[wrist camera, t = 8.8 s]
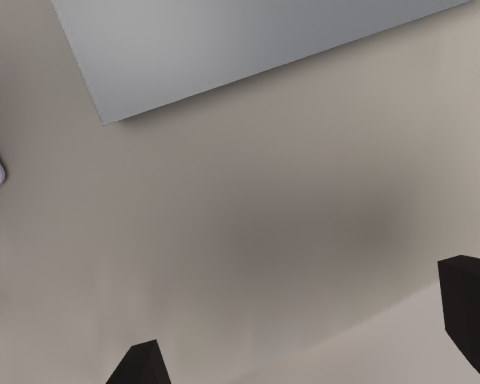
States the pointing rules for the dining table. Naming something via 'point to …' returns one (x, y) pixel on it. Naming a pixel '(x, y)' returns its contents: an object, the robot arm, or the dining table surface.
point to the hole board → (209, 41)
